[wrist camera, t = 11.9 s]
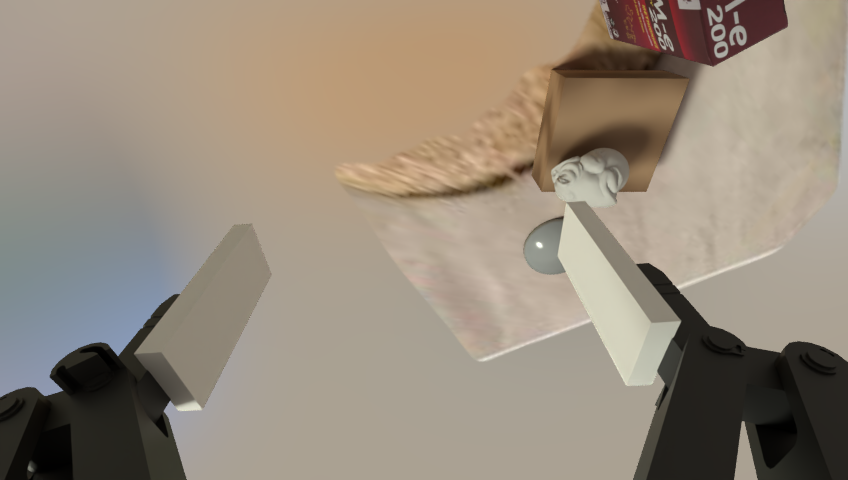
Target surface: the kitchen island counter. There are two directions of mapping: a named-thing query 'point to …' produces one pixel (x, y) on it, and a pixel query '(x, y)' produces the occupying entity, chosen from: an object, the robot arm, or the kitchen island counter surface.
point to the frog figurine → (591, 177)
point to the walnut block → (608, 119)
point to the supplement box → (694, 25)
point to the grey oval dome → (545, 247)
